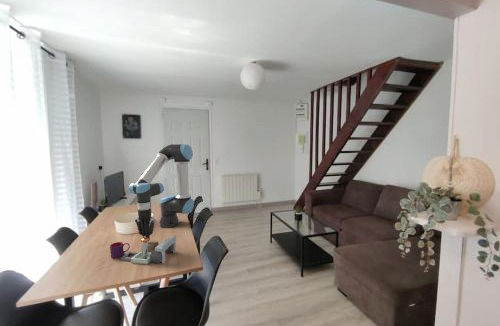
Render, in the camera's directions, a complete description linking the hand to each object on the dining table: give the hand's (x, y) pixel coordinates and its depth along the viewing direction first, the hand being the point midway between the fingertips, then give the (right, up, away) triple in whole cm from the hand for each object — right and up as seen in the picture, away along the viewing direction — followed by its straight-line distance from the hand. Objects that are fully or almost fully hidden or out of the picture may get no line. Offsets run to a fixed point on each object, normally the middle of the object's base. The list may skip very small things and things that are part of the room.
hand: (146, 245), depth 142 cm
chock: (+4, -3, 0) cm, 5 cm away
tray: (+4, -4, -11) cm, 13 cm away
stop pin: (+4, -4, -12) cm, 13 cm away
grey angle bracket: (+14, -4, -8) cm, 17 cm away
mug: (-13, -4, -5) cm, 15 cm away
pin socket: (-5, -4, -9) cm, 11 cm away
